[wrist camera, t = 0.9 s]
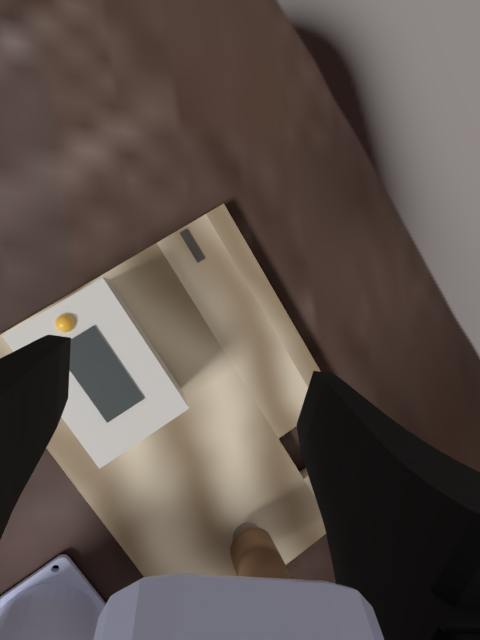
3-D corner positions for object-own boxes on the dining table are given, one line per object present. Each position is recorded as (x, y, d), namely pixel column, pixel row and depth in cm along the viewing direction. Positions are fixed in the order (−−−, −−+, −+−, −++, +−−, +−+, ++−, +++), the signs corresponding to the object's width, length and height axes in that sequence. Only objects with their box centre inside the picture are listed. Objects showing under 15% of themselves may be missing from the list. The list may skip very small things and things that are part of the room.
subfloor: (188, 626, 32) (190, 639, 31) (-20, 348, 27) (-28, 351, 26) (378, 479, 35) (387, 486, 34) (220, 206, 30) (224, 203, 29)
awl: (239, 565, 31) (264, 634, 25) (218, 534, 31) (237, 596, 25) (274, 539, 32) (306, 600, 26) (253, 507, 31) (281, 562, 25)
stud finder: (106, 438, 28) (98, 472, 23) (27, 327, 27) (-2, 337, 21) (181, 388, 29) (190, 411, 24) (109, 279, 28) (101, 276, 22)
